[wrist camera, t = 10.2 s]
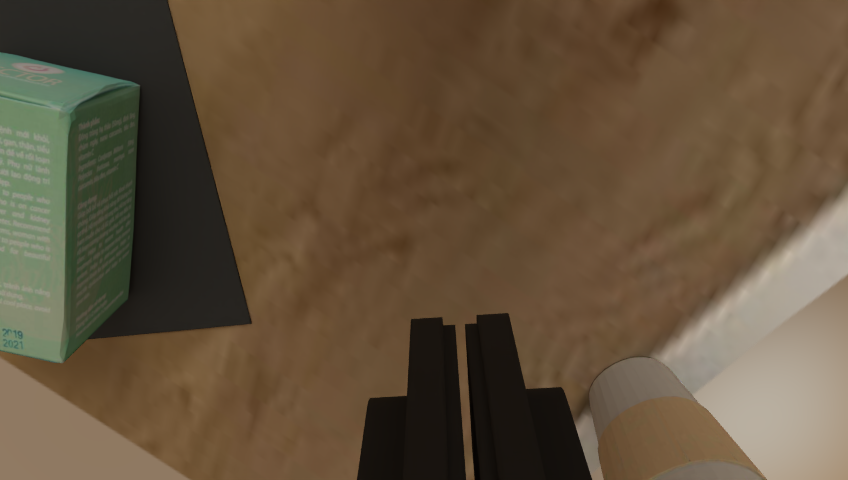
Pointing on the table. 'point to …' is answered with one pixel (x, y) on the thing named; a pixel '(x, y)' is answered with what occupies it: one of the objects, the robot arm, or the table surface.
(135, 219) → the mat
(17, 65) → the box
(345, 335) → the table surface
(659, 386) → the coffee cup
